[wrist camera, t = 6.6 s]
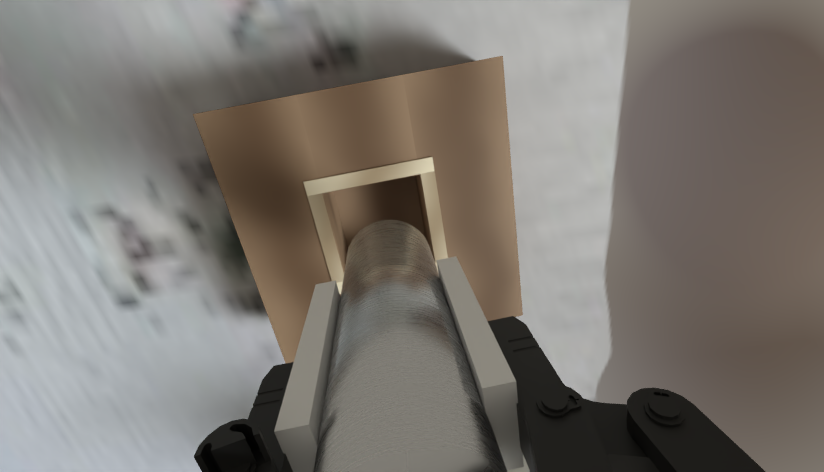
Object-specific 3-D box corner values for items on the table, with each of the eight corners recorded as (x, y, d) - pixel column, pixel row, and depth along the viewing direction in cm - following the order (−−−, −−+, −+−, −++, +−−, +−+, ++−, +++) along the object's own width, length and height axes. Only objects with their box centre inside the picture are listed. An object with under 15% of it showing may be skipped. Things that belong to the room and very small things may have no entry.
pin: (357, 303, 19) (336, 609, 8) (337, 229, 18) (276, 478, 6) (436, 286, 19) (525, 567, 8) (423, 211, 18) (508, 429, 7)
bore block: (299, 321, 30) (286, 365, 25) (226, 108, 24) (191, 114, 19) (499, 280, 30) (523, 315, 26) (477, 61, 24) (503, 55, 20)
